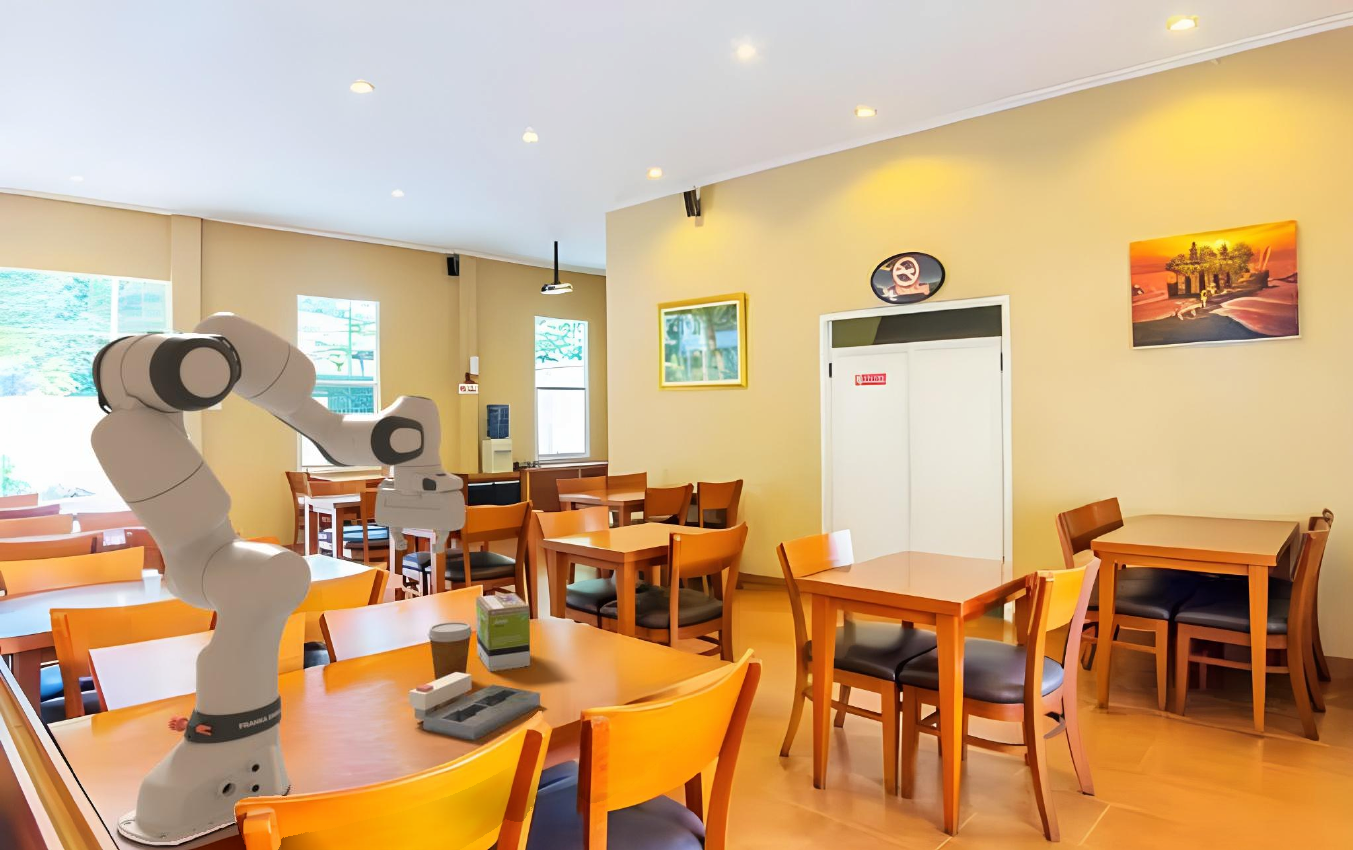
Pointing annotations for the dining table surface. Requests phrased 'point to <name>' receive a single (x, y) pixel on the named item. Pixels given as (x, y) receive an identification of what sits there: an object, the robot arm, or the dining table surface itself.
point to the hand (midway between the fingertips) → (419, 551)
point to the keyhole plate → (481, 712)
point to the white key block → (438, 693)
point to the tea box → (503, 631)
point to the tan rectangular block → (447, 702)
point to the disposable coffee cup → (449, 647)
